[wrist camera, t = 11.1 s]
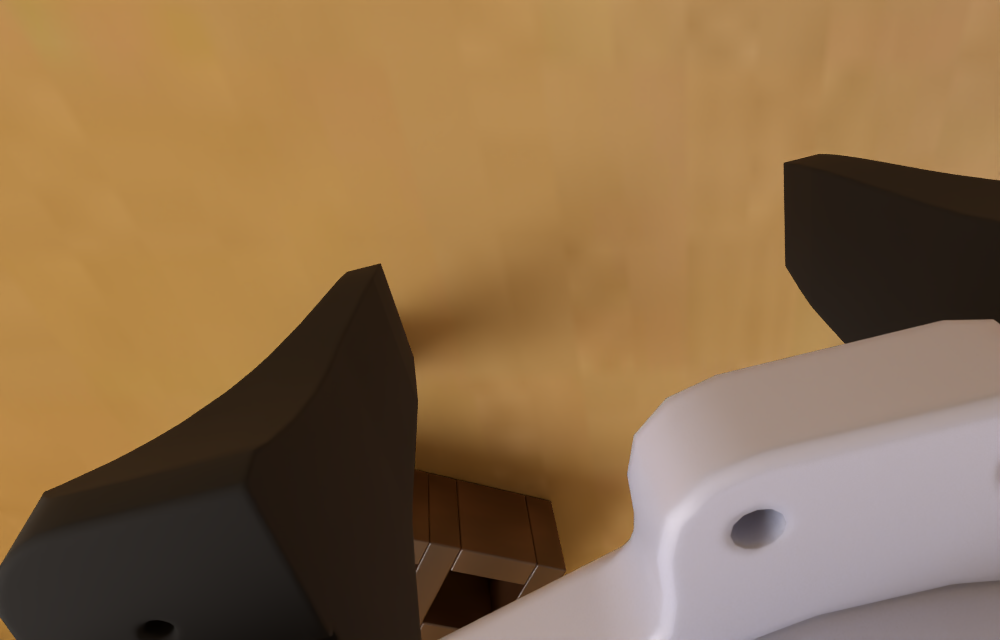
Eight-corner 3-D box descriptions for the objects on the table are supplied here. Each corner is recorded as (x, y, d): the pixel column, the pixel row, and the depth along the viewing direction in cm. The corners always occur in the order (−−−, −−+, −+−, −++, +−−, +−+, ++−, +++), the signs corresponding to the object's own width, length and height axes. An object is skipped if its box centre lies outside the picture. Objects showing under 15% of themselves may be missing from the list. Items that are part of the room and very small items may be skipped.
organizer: (551, 500, 30) (567, 570, 27) (438, 695, 36) (440, 770, 33) (323, 447, 28) (311, 518, 25) (242, 666, 34) (225, 745, 31)
